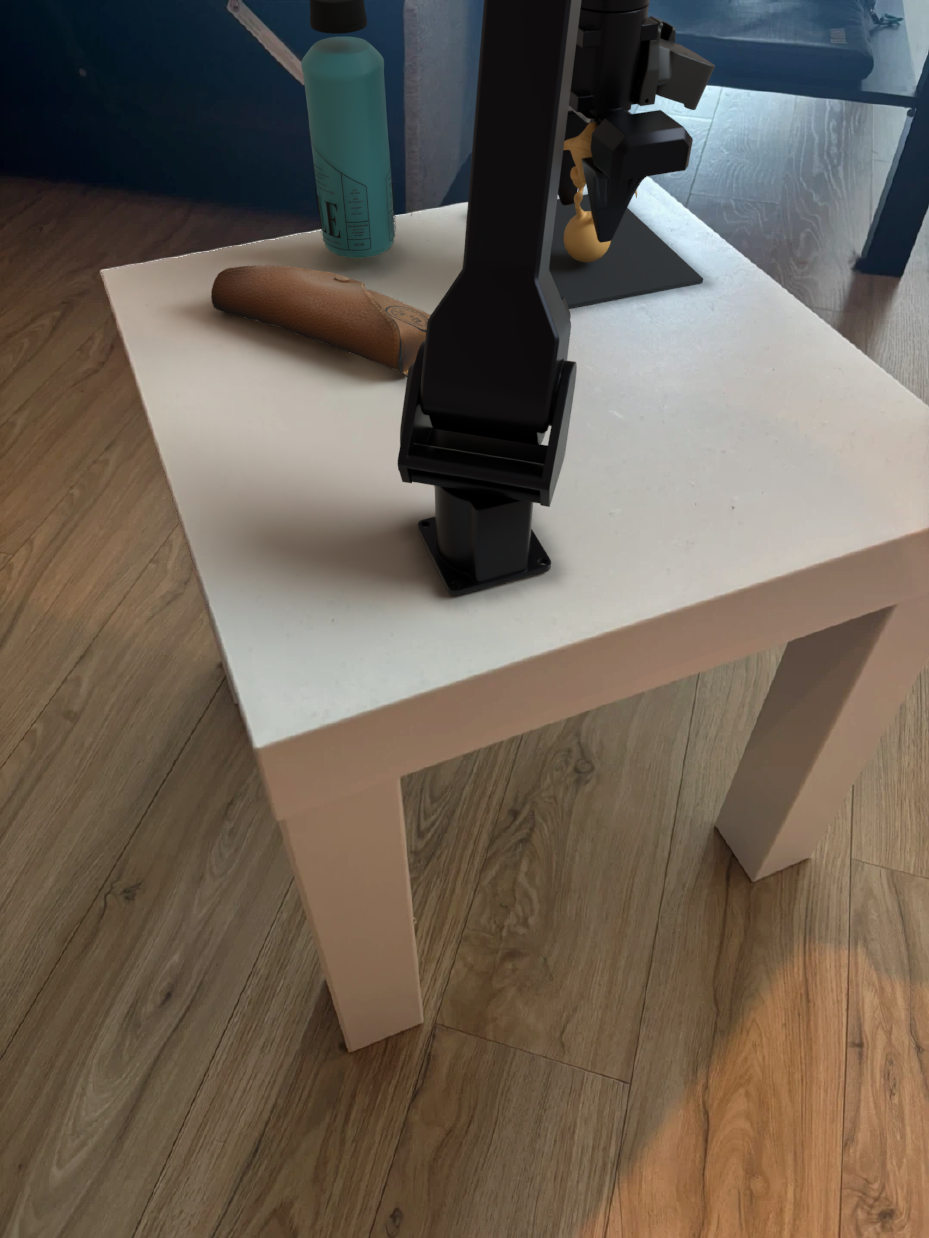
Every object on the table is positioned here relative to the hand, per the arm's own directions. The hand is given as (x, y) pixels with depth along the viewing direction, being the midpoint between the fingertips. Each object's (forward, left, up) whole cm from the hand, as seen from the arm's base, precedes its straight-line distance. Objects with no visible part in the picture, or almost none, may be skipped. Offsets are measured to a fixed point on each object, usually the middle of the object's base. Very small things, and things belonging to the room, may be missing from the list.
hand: (585, 222), depth 77 cm
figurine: (0, 0, -4) cm, 4 cm away
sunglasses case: (-1, +22, -5) cm, 22 cm away
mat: (+4, -2, -5) cm, 6 cm away
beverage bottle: (+9, +17, -5) cm, 20 cm away
